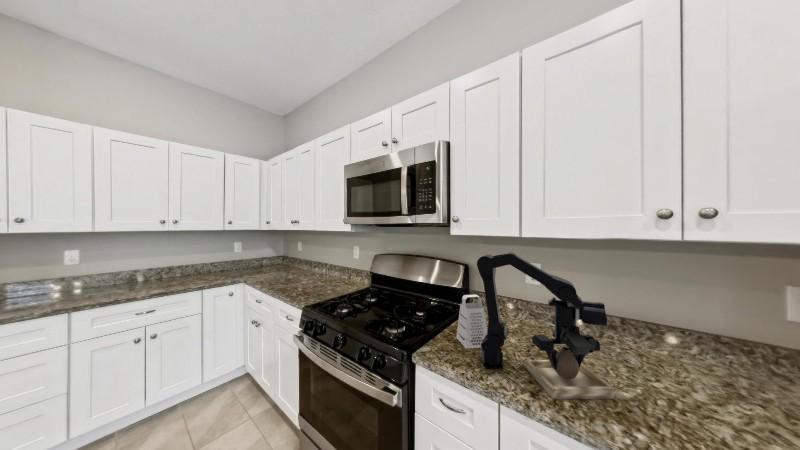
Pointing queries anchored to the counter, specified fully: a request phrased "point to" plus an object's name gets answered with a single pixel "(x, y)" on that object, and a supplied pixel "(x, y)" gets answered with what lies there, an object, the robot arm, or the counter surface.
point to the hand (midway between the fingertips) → (565, 368)
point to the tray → (569, 382)
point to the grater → (471, 322)
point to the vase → (566, 364)
